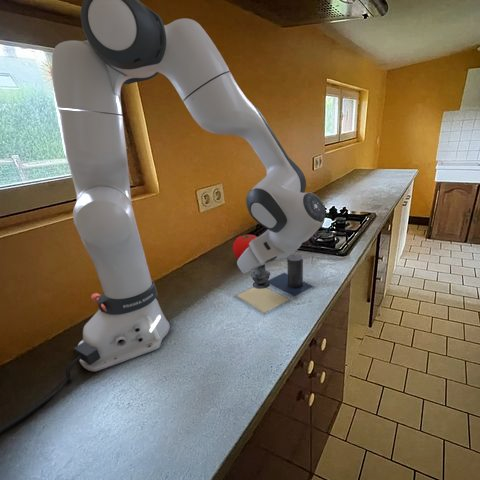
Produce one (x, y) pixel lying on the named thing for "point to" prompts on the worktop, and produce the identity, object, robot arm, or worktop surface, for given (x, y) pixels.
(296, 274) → the dark grey cylinder
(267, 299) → the oat mat
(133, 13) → the robot arm
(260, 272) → the grey chess piece
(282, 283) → the slate mat
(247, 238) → the tomato
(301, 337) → the worktop surface
